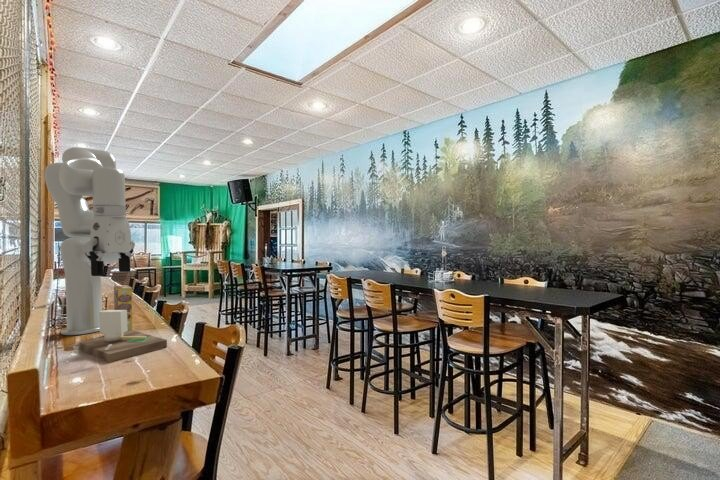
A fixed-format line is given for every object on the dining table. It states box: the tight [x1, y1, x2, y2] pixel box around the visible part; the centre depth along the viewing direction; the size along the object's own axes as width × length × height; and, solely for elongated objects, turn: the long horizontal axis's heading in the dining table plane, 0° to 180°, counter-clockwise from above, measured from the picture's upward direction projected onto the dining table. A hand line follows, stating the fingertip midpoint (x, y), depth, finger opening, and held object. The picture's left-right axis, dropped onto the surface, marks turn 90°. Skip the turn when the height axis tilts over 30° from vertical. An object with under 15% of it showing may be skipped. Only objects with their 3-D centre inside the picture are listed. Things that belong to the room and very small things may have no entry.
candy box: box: [113, 284, 133, 333], centre depth 116 cm, size 9×4×15 cm, turn 39°
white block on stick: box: [99, 309, 147, 342], centre depth 101 cm, size 13×4×8 cm, turn 85°
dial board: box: [78, 330, 168, 363], centre depth 100 cm, size 20×14×2 cm
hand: (111, 273), depth 101 cm, fingers open, 9 cm apart
